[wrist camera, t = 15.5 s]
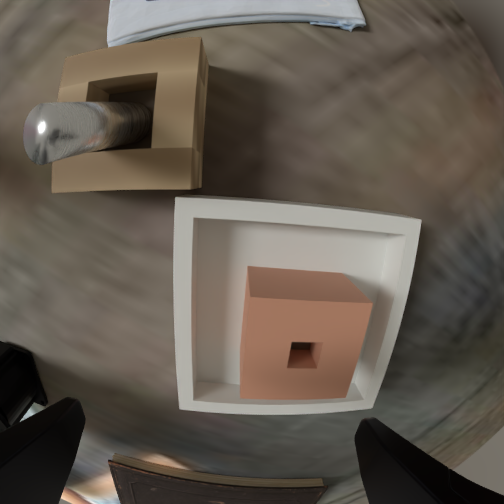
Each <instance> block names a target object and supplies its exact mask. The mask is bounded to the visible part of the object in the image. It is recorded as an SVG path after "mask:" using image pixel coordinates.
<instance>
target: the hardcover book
mask: <svg viewBox="0 0 504 504" xmlns="http://www.w3.org/2000/svg"><path fill="white" fill-rule="evenodd" d="M114 454H115V455H113V456H112V457H113V459H112V460H108V463H109V467H110V470H111V474H112V477H113V481H114V484H115V488H116V491H117V494H118V497H119V500H120V503H121V504H316V503H317V501H318V500H319V499H320V498H321V496H322V495H323V494H324V493H325V491H326V490H327V489H328V486H324V485H323V482H322V478H315V479H262V478H245V477H233V476H224V475H215V474H208V473H201V472H194V471H188V470H183V469H177V468H172V467H167V466H163V465H158V464H154V463H150V462H145V461H142V460H138V459H134V458H130V457H127V456H123V455H120V454H117V453H114Z"/></svg>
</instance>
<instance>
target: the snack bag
mask: <svg viewBox="0 0 504 504" xmlns="http://www.w3.org/2000/svg"><path fill="white" fill-rule="evenodd" d="M260 22H310V24H318V25H323V26H334V27H336V26H339V27H340V28H341V29H344V30H349V31H350V32H352V29H353V28H355V27H358V26H360V27H362V28H363V26H366V23H365V18H364V16H363V14H362V11H361V9H360V7H359V4H358V1H357V0H110V9H109V21H108V28H107V43H108V47H113V46H118V45H124V44H131V43H137V42H140V41H144V40H147V39H150V38H154V37H158V36H162V35H166V34H170V33H175V32H181V31H186V30H191V29H197V28H204V27H211V26H220V25H231V24H246V23H260Z"/></svg>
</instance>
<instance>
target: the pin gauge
mask: <svg viewBox="0 0 504 504" xmlns="http://www.w3.org/2000/svg"><path fill="white" fill-rule="evenodd" d="M150 128H151V115H150V112H149V110H148V109H147V108H146V107H145V106H144V105H142V104H140V103H127V102H56V103H42V104H39V105H37V106H35V107H34V108H33V109H32V110H31V112H30V113H29V115H28V117H27V119H26V122H25V125H24V131H23V142H24V147H25V150H26V153H27V155H28V157H29V158H30V159H31V160H32V161H33V162H34V163H36V164H39V165H43V164H47V163H50V162H54V161H57V160H61V159H65V158H68V157H72V156H76V155H80V154H84V153H88V152H92V151H97V150H101V149H105V148H110V147H115V146H120V145H125V144H130V143H135V142H139V141H141V140H142V139H144V138H145V137H146V135H147V134H148V132H149V130H150Z"/></svg>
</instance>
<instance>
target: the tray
mask: <svg viewBox="0 0 504 504" xmlns="http://www.w3.org/2000/svg"><path fill="white" fill-rule="evenodd" d="M420 227H421V220H420V219H416V218H413V217H409V216H405V215H401V214H396V213H389V212H382V211H374V210H366V209H358V208H350V207H341V206H332V205H323V204H313V203H302V202H292V201H280V200H268V199H255V198H241V197H225V196H208V195H187V194H186V195H182V196H178V197H175V215H174V257H173V289H174V331H175V353H176V370H177V384H178V397H179V408H180V409H182V410H191V411H201V412H213V413H229V414H254V415H290V414H315V413H330V412H342V411H352V410H361V409H370V408H372V407H373V405H374V402H375V399H376V397H377V394H378V392H379V389H380V386H381V384H382V381H383V378H384V375H385V372H386V369H387V366H388V363H389V360H390V357H391V354H392V351H393V348H394V345H395V341H396V338H397V334H398V331H399V327H400V324H401V320H402V316H403V312H404V309H405V305H406V300H407V296H408V292H409V288H410V283H411V278H412V273H413V269H414V263H415V258H416V252H417V247H418V241H419V234H420ZM247 266H256V267H269V268H282V269H295V270H309V271H323V272H337V273H343V274H344V275H345V276H346V277H347V278H348V279H349V280H350V281H351V282H352V283H353V284H354V285H355V286H356V287H357V288H358V289H359V290H360V291H361V292H362V293H363V294H364V295H365V296H366V297H367V298H368V299H370V300H371V301H372V302H373V306H372V310H371V314H370V318H369V322H368V326H367V330H366V333H365V337H364V341H363V344H362V348H361V351H360V355H359V358H358V362H357V365H356V368H355V371H354V374H353V378H352V381H351V384H350V387H349V390H348V393H347V395H346V398H335V399H310V400H266V399H241V398H240V342H241V331H242V320H243V309H244V299H245V288H246V277H247Z"/></svg>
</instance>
